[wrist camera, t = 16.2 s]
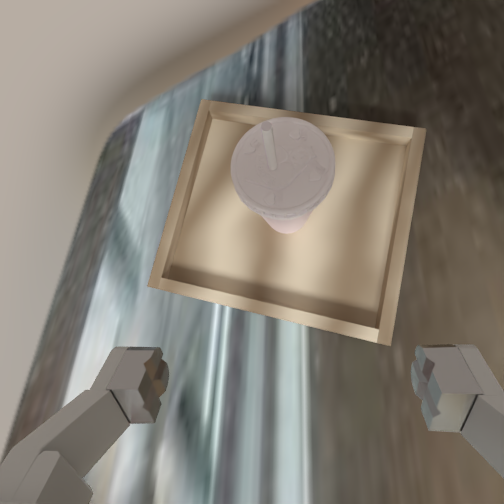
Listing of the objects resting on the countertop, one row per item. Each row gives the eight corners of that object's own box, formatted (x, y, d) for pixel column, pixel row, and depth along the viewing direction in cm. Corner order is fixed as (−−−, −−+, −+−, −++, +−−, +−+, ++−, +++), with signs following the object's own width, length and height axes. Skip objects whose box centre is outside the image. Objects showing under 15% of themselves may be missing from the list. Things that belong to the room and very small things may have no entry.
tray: (417, 141, 29) (426, 128, 27) (383, 343, 26) (390, 346, 24) (207, 112, 33) (201, 99, 31) (157, 288, 30) (147, 286, 28)
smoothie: (241, 195, 30) (193, 94, 16) (306, 168, 29) (314, 41, 16) (266, 260, 28) (237, 207, 15) (336, 232, 28) (372, 151, 14)
